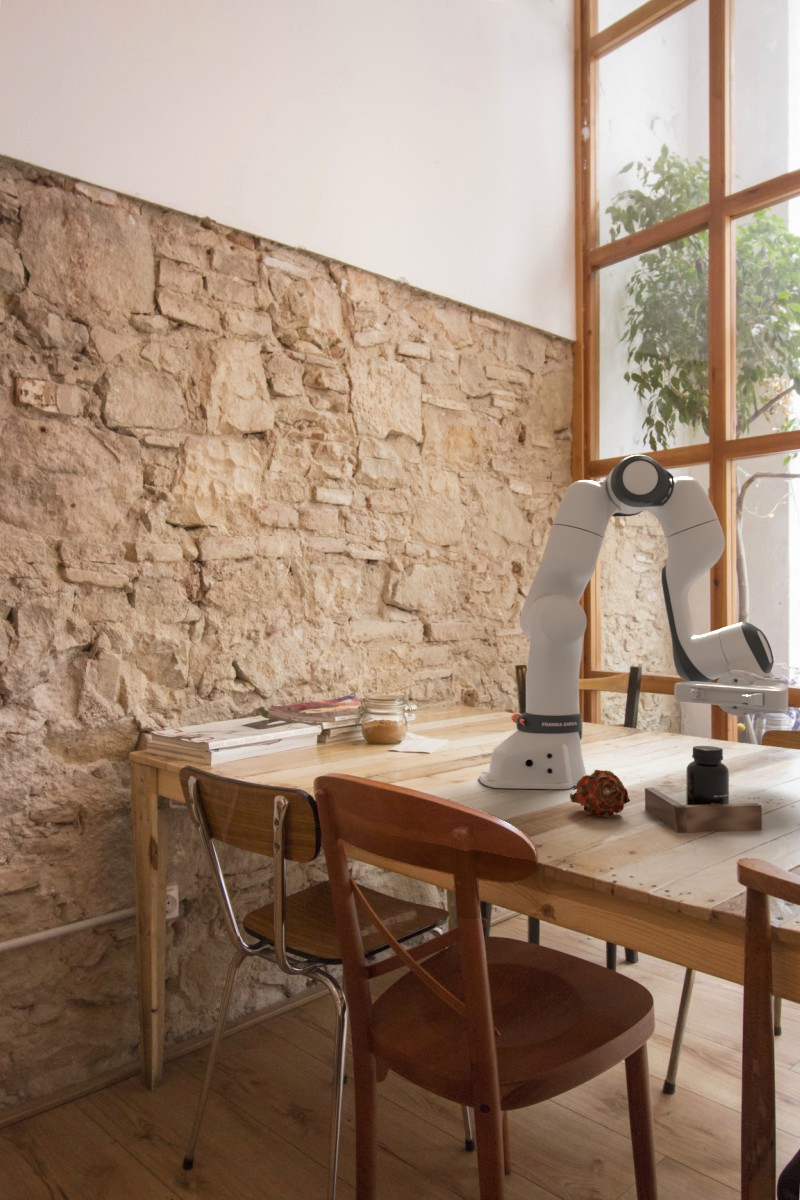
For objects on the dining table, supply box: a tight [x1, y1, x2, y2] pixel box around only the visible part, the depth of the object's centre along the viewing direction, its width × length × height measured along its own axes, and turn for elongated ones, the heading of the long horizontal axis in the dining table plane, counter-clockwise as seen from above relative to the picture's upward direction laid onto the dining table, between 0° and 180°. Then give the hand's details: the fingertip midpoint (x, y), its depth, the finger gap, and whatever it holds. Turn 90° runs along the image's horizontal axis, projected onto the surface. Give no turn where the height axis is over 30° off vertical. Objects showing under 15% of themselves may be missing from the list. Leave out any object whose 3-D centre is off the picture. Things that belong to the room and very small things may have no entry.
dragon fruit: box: [569, 769, 631, 819], centre depth 151 cm, size 8×8×12 cm
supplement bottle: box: [685, 745, 730, 805], centre depth 145 cm, size 7×7×12 cm
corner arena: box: [644, 787, 763, 833], centre depth 146 cm, size 14×15×4 cm
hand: (719, 698), depth 156 cm, fingers open, 8 cm apart
